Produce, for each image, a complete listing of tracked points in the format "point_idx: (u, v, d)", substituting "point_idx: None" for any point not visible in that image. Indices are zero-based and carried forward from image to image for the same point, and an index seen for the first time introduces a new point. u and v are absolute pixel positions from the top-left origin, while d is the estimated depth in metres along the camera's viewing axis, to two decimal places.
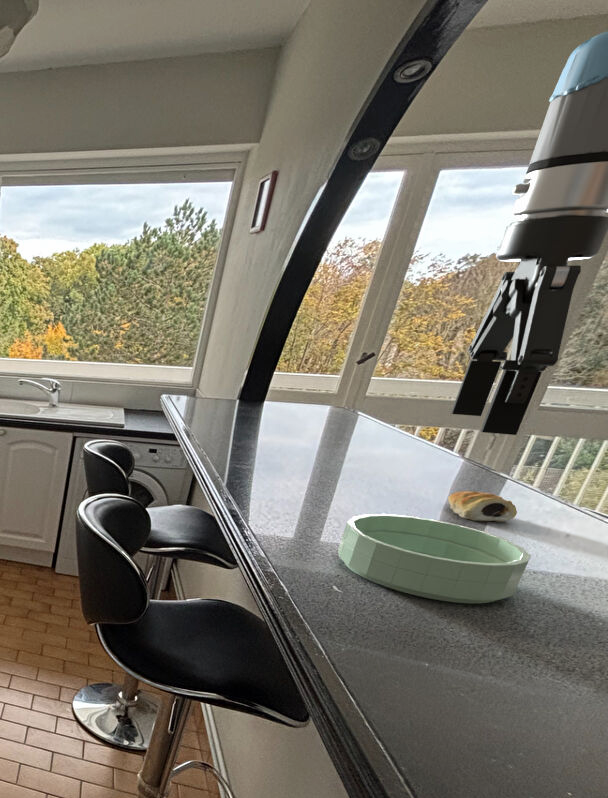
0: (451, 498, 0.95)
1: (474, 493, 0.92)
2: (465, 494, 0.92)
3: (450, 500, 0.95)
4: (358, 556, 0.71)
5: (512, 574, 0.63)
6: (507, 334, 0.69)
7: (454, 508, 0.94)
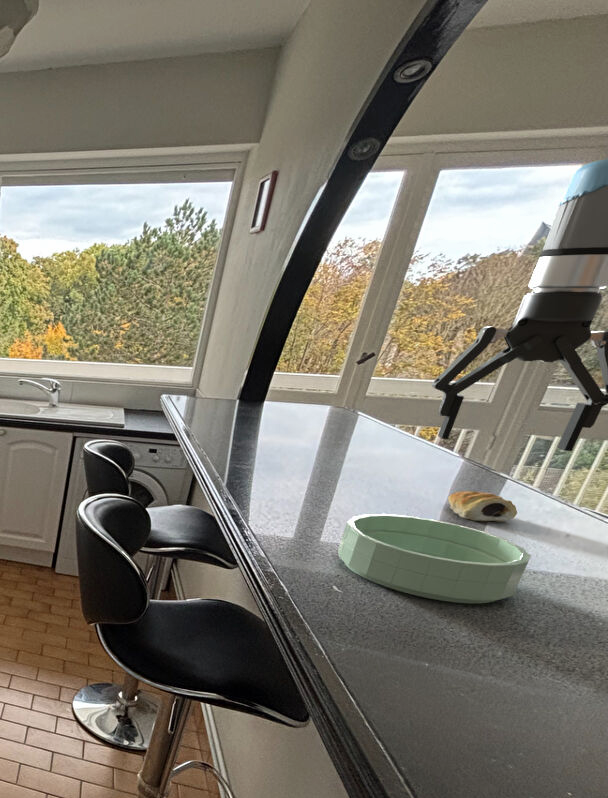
0: (451, 498, 0.95)
1: (474, 493, 0.92)
2: (465, 494, 0.92)
3: (450, 500, 0.95)
4: (358, 556, 0.71)
5: (512, 574, 0.63)
6: (577, 380, 0.82)
7: (454, 508, 0.94)
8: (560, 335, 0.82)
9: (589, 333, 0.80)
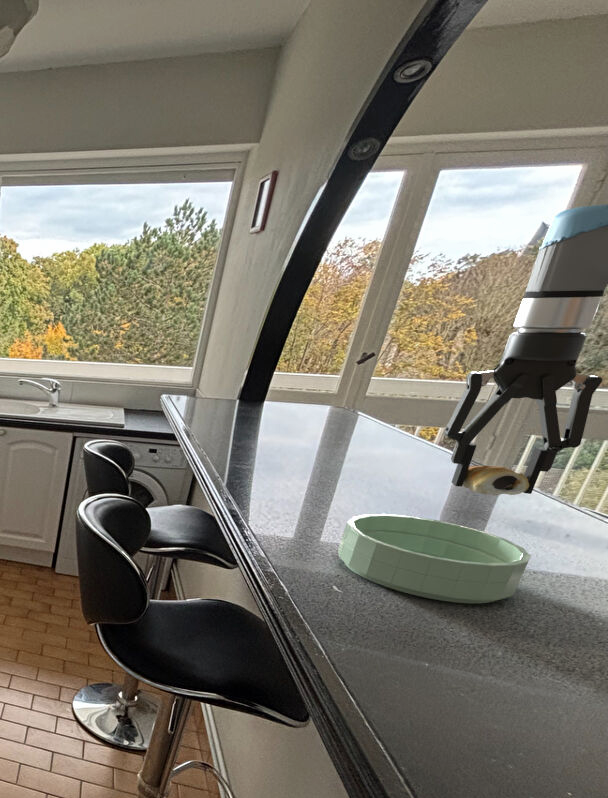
0: None
1: (485, 467, 0.90)
2: (475, 468, 0.91)
3: None
4: (358, 556, 0.71)
5: (512, 574, 0.63)
6: (544, 422, 0.85)
7: (465, 483, 0.92)
8: (549, 373, 0.83)
9: (575, 371, 0.82)
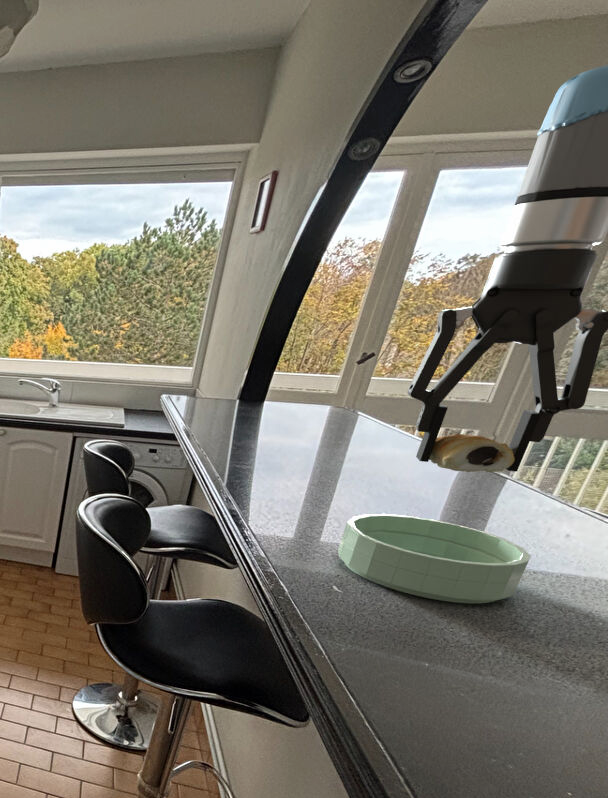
0: None
1: (458, 436, 0.69)
2: (446, 437, 0.70)
3: None
4: (358, 556, 0.71)
5: (512, 574, 0.63)
6: (537, 375, 0.64)
7: (433, 457, 0.71)
8: (545, 308, 0.62)
9: (580, 304, 0.61)
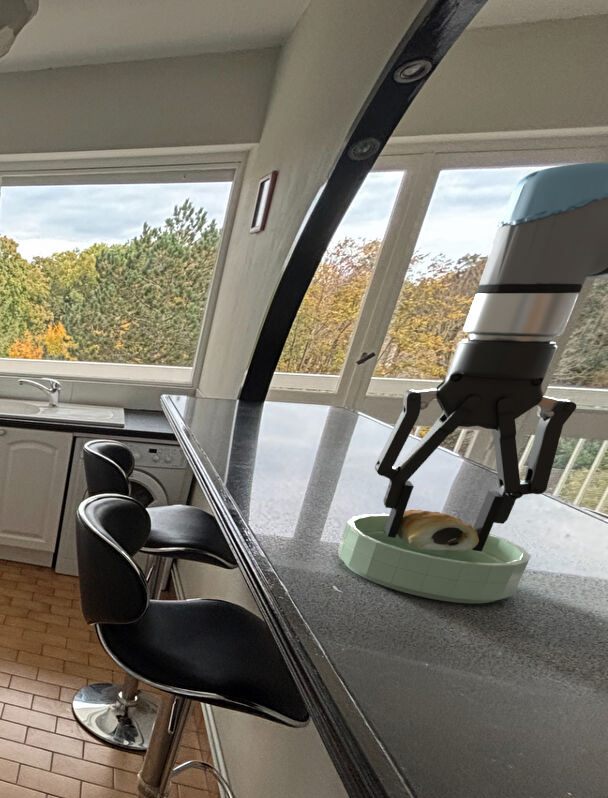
0: None
1: (424, 513, 0.70)
2: (413, 514, 0.70)
3: None
4: (358, 556, 0.71)
5: (512, 574, 0.63)
6: (500, 459, 0.65)
7: (400, 533, 0.71)
8: (507, 395, 0.62)
9: (541, 393, 0.61)
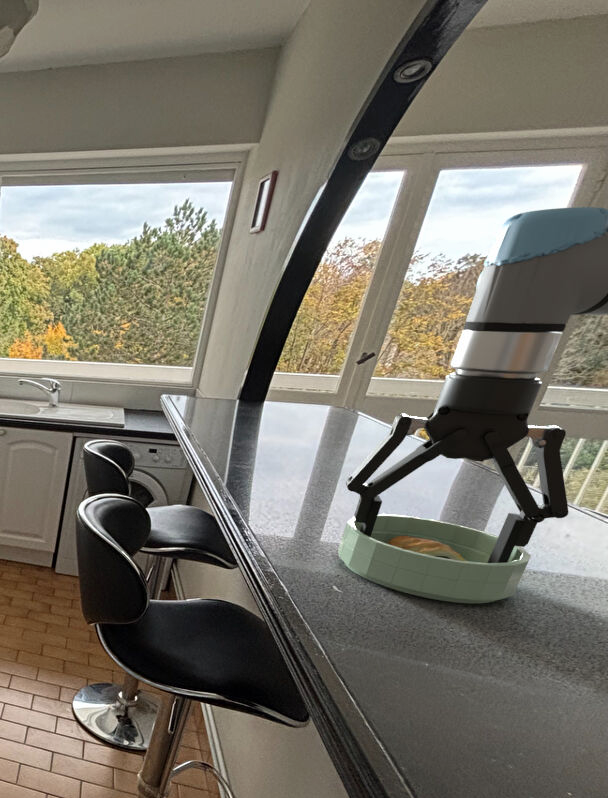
0: None
1: (415, 541, 0.71)
2: (404, 541, 0.71)
3: None
4: (358, 556, 0.71)
5: (512, 574, 0.63)
6: (508, 486, 0.65)
7: None
8: (491, 429, 0.64)
9: (526, 427, 0.62)
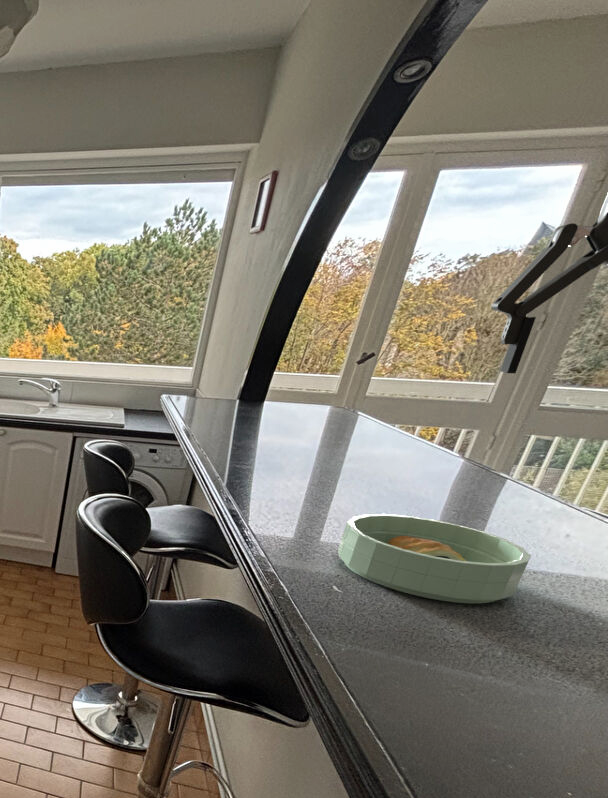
0: None
1: (415, 541, 0.71)
2: (404, 541, 0.71)
3: None
4: (358, 556, 0.71)
5: (512, 574, 0.63)
6: None
7: None
8: None
9: None
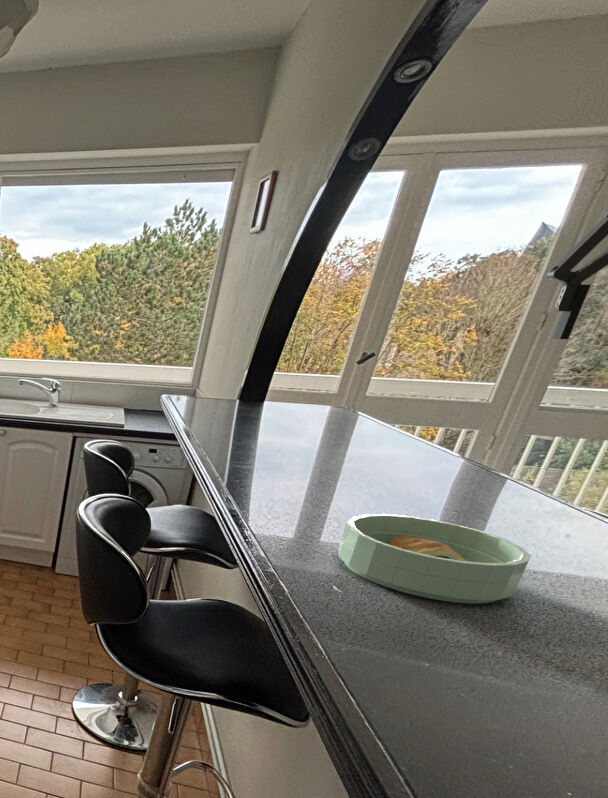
0: None
1: (415, 541, 0.71)
2: (404, 541, 0.71)
3: None
4: (358, 556, 0.71)
5: (512, 574, 0.63)
6: None
7: None
8: None
9: None
